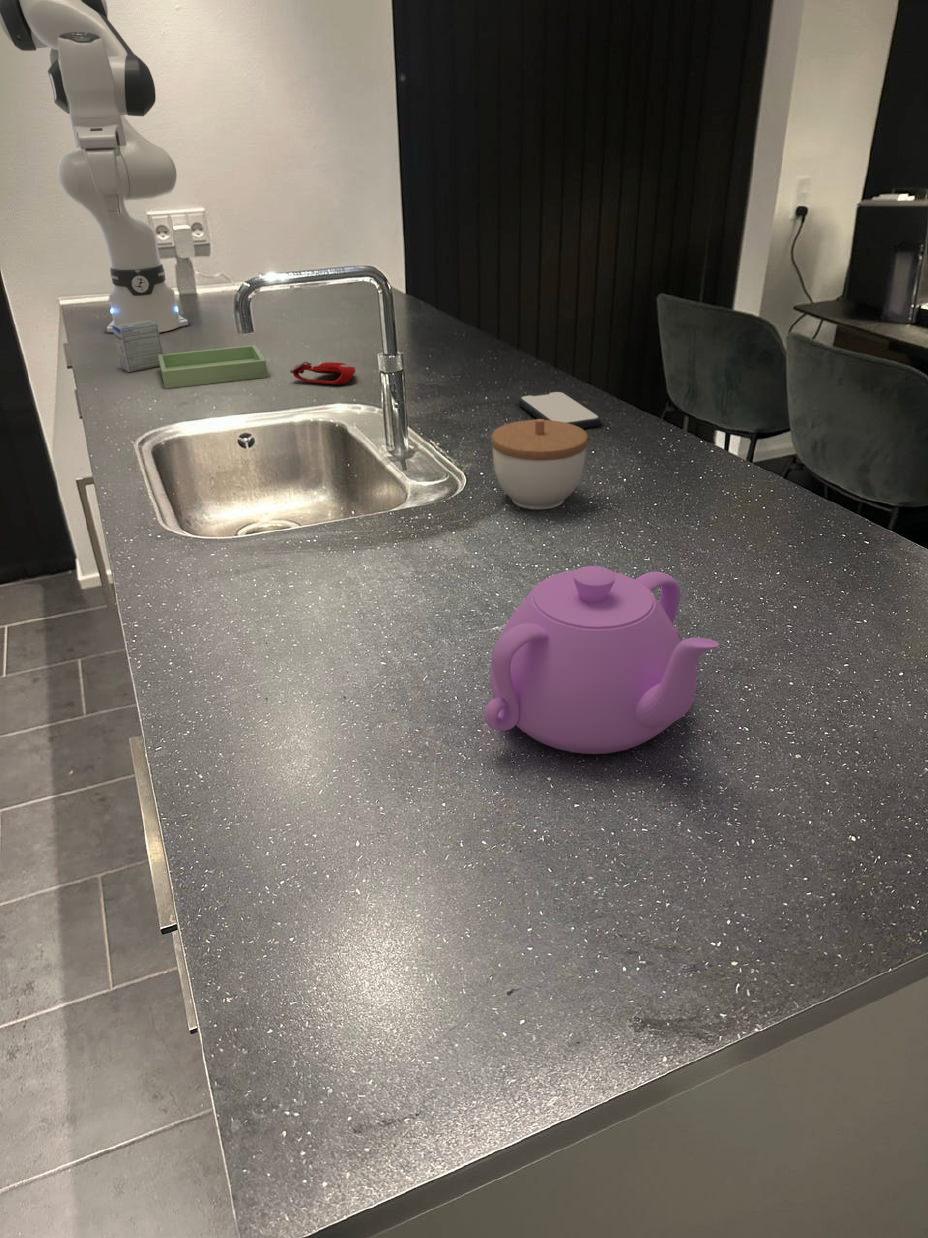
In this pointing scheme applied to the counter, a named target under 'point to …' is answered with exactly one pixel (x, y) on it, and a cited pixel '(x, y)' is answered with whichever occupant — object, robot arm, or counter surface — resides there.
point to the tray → (212, 366)
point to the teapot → (594, 662)
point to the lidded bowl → (539, 461)
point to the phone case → (559, 409)
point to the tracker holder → (325, 371)
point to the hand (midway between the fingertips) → (115, 217)
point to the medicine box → (138, 345)
